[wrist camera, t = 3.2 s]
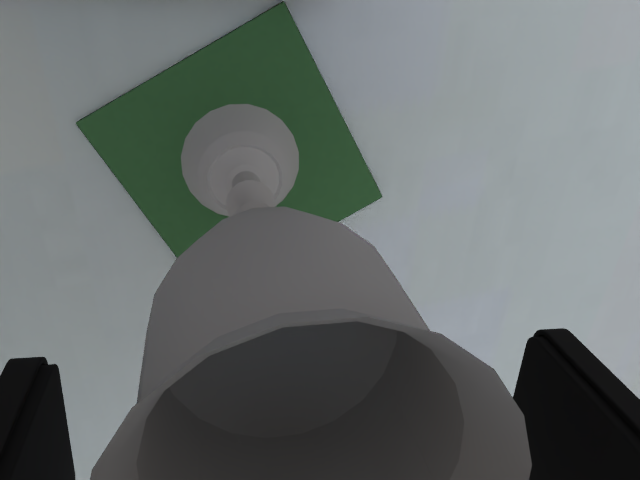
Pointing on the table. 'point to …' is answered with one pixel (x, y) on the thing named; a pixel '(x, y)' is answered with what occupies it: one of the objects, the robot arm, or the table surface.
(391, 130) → the table surface
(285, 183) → the chalice
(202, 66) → the green cloth
